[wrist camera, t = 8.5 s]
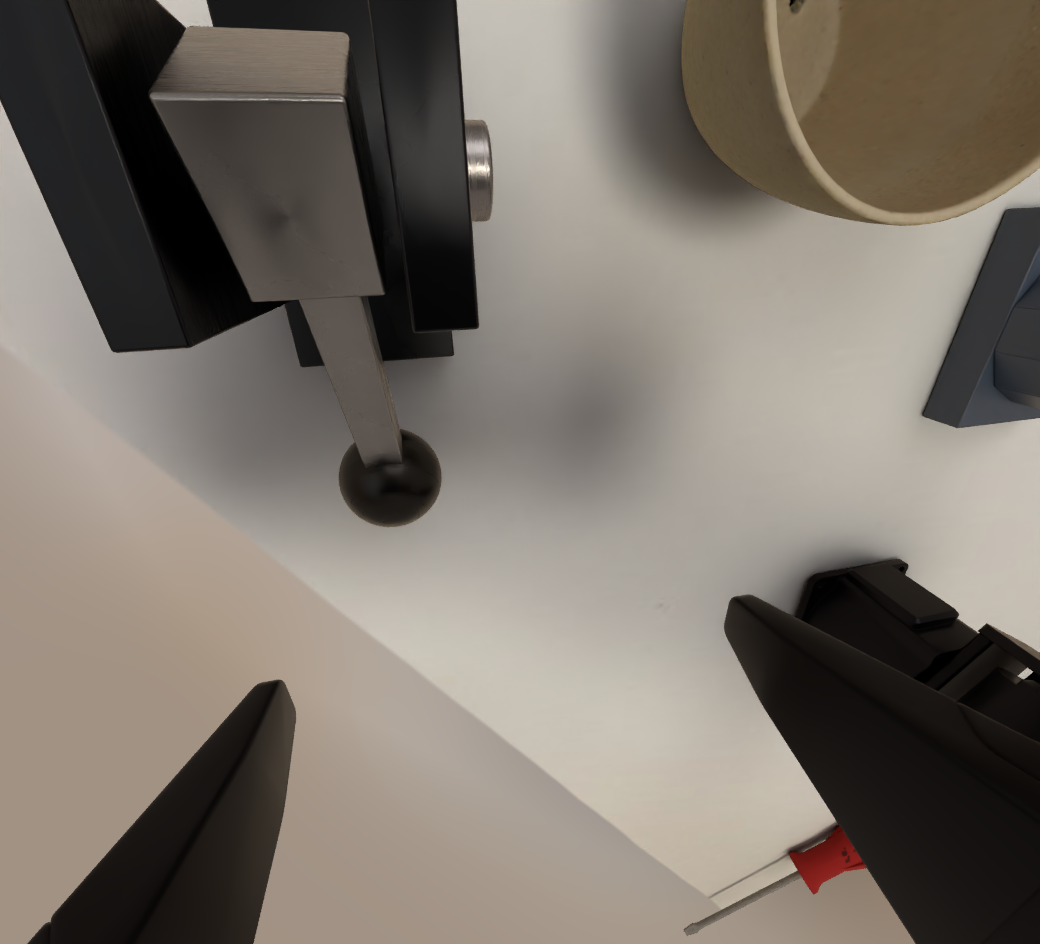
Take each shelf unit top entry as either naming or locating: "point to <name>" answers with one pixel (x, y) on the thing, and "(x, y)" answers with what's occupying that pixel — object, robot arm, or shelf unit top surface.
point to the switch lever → (301, 222)
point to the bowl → (869, 101)
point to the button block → (997, 335)
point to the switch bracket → (173, 201)
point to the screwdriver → (802, 872)
